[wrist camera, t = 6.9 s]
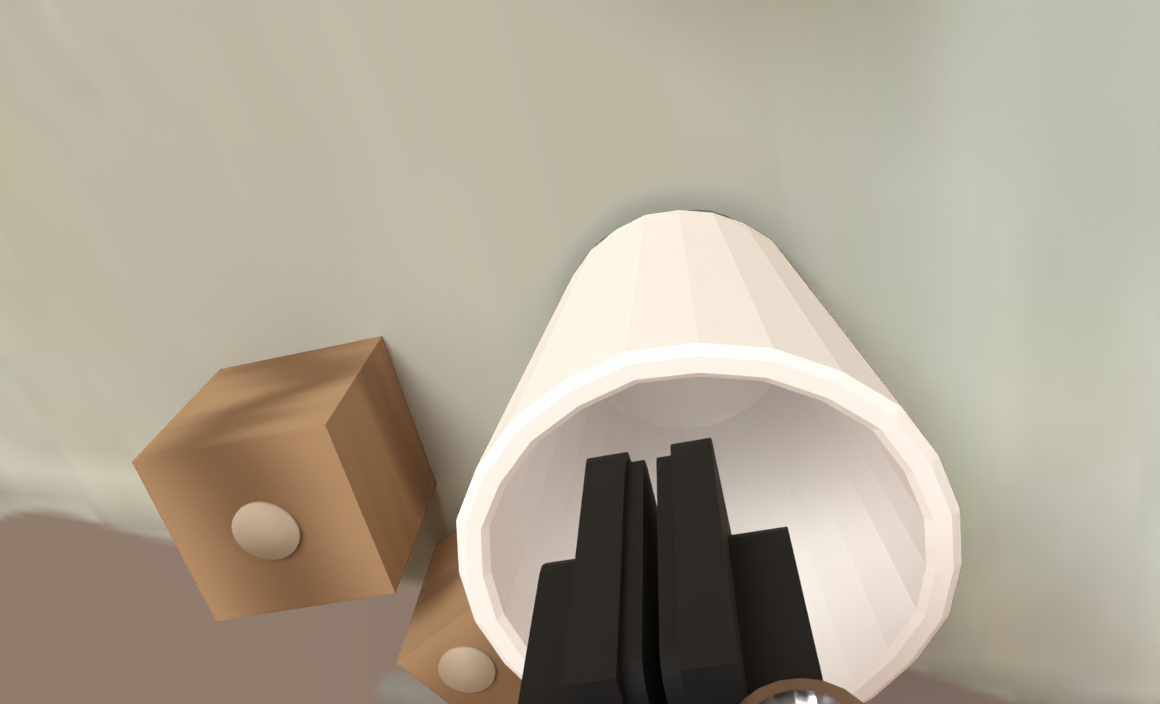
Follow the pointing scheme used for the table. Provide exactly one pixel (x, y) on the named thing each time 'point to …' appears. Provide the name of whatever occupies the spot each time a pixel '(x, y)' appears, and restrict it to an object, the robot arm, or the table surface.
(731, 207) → the table surface
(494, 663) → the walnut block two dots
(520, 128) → the table surface
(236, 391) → the walnut block one dot
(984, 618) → the table surface
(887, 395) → the cup
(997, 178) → the table surface
